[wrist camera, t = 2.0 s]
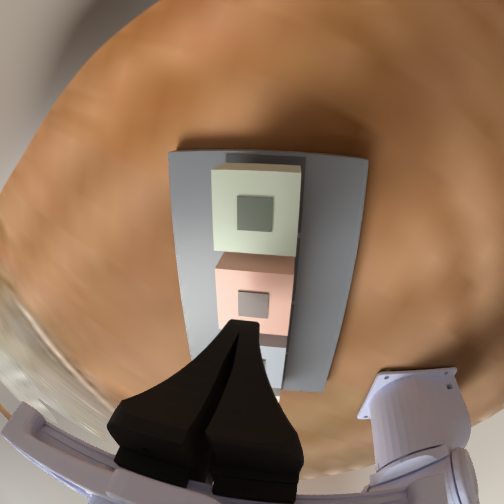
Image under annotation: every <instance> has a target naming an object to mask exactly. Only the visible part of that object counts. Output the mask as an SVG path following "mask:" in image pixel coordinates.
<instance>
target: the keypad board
mask: <svg viewBox="0 0 504 504" xmlns="http://www.w3.org/2000/svg"><path fill="white" fill-rule="evenodd" d="M168 160H169V179H170V195H171V208H172V220H173V231H174V241H175V251H176V260H177V268H178V276H179V284H180V291H181V299H182V306H183V312H184V319H185V325H186V331H187V337H188V343H189V349H190V354H191V360H193V359H194V358H196V357H197V356H198V355H199V354H200V353H201V352H202V351H203V350H204V349H205V348H206V347H207V346H208V345H209V344H210V343H211V341H212V340H213V339H214V338H215V337H216V336H217V335H218V334H219V332H220V331H221V330H222V329H219V325H218V311H217V296H216V280H215V267H216V266H217V264H218V262H219V260H220V258H221V257H222V255H223V253H224V251H214V241H213V218H212V187H211V170H212V169H213V168H215V167H217V166H219V165H221V164H223V163H257V164H280V165H297V166H301V189H300V205H299V220H298V234H297V246H296V257H295V264H294V281H293V291H292V301H291V311H290V320H289V329H288V336H287V345H286V354H285V362H284V369H283V377H282V384H281V390H290V391H306V392H323V390H324V387H325V384H326V380H327V377H328V374H329V370H330V367H331V363H332V360H333V356H334V352H335V349H336V345H337V341H338V337H339V333H340V329H341V325H342V321H343V317H344V313H345V309H346V304H347V300H348V295H349V290H350V285H351V281H352V275H353V270H354V265H355V260H356V254H357V248H358V242H359V236H360V229H361V223H362V216H363V208H364V200H365V192H366V183H367V173H368V163H369V160H368V159H366V158H362V157H354V156H345V155H336V154H325V153H313V152H299V151H282V150H256V149H199V150H175V151H171V152H168Z"/></svg>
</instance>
